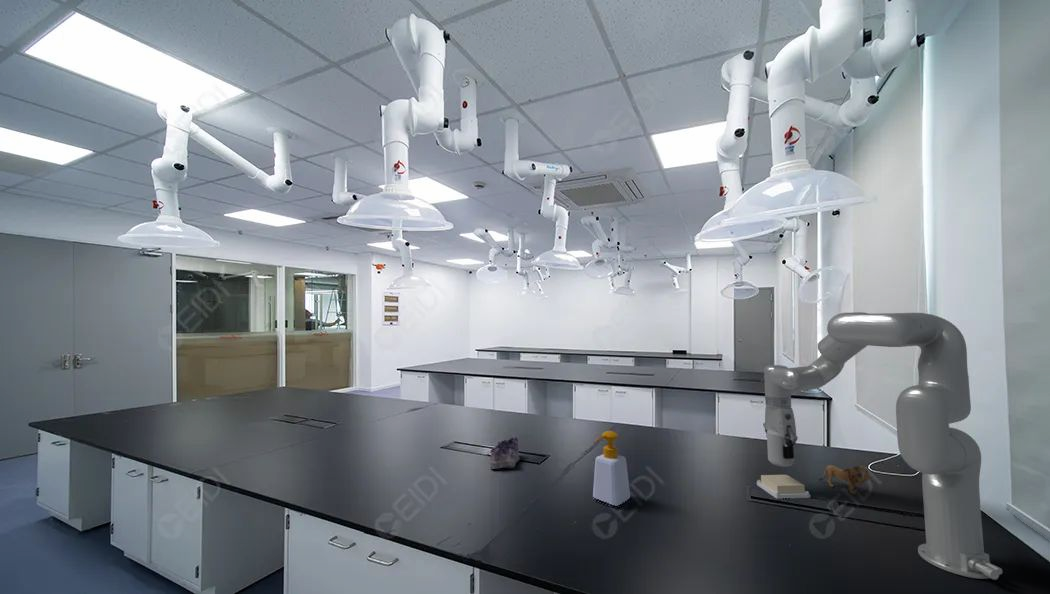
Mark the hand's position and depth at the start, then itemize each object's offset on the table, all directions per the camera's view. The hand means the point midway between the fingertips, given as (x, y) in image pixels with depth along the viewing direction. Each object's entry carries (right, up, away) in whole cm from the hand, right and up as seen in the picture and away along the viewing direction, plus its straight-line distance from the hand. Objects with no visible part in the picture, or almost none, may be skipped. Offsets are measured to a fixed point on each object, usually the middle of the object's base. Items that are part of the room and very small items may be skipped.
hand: (780, 453), depth 138 cm
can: (0, -3, 0) cm, 3 cm away
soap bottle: (-60, -13, -7) cm, 62 cm away
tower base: (0, -12, -1) cm, 12 cm away
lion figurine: (+23, -12, +1) cm, 26 cm away
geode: (-95, -16, +31) cm, 101 cm away
